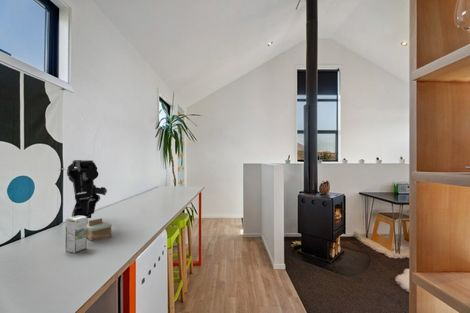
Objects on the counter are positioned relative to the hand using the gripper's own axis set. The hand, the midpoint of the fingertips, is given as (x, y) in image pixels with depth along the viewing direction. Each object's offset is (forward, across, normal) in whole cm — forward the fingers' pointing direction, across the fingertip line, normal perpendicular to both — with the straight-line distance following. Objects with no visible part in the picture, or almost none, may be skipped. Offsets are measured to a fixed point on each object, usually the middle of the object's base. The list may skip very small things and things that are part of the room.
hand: (89, 213), depth 121 cm
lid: (+7, +2, -2) cm, 8 cm away
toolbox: (+12, +3, -1) cm, 12 cm away
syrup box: (+16, -14, +2) cm, 21 cm away
